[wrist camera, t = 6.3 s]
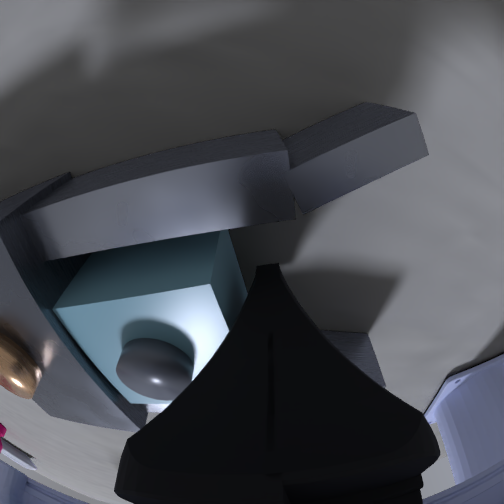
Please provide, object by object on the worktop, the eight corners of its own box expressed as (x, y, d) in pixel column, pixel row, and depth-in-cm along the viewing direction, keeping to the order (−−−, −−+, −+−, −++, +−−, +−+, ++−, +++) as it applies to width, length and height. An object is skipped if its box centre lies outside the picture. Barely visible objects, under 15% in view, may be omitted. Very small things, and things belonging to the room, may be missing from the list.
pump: (223, 214, 9) (206, 305, 6) (257, 323, 12) (258, 415, 8) (97, 245, 10) (41, 325, 6) (150, 337, 13) (126, 418, 9)
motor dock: (376, 102, 7) (489, 133, 3) (365, 346, 13) (393, 436, 9) (-18, 203, 9) (-89, 262, 4) (76, 365, 14) (49, 433, 10)
